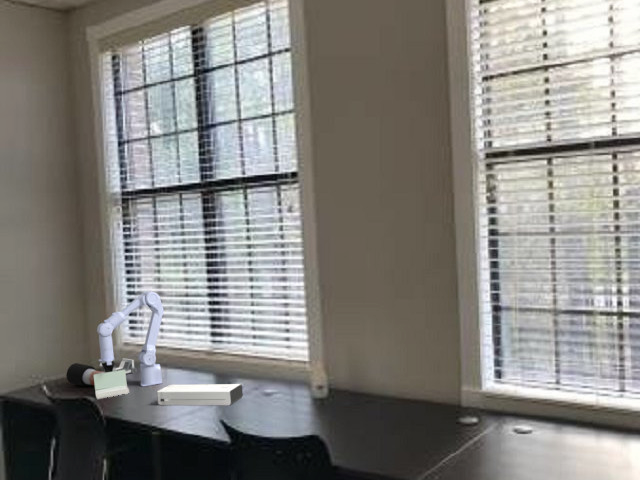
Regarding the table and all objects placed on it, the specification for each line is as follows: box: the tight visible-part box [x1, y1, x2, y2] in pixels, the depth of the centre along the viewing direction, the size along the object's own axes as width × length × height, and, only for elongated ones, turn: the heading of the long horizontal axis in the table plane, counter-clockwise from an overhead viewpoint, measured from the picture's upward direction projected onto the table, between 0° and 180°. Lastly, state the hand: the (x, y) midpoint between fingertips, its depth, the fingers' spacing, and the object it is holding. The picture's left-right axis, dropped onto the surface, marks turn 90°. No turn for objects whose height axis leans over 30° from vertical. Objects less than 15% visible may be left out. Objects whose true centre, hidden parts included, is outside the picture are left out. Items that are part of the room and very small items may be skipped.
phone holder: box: [99, 357, 138, 374], centre depth 361 cm, size 18×10×12 cm
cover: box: [94, 370, 128, 392], centre depth 322 cm, size 14×8×1 cm
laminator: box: [156, 383, 243, 406], centre depth 293 cm, size 34×12×6 cm, turn 72°
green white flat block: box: [94, 384, 130, 400], centre depth 318 cm, size 14×7×2 cm, turn 112°
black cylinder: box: [66, 362, 104, 388], centre depth 337 cm, size 10×34×10 cm, turn 57°
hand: (109, 377), depth 325 cm, fingers closed
